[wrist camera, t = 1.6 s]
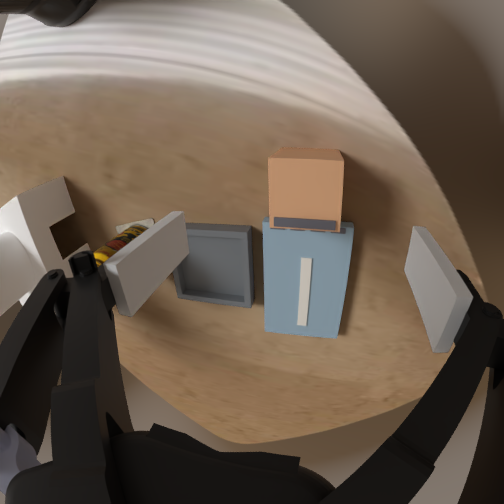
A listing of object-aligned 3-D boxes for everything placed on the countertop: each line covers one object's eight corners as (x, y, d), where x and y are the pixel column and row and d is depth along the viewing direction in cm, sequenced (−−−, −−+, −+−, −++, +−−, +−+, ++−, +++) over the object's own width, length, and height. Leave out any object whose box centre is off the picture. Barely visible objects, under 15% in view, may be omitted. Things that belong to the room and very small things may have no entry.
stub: (282, 147, 29) (267, 158, 22) (338, 149, 27) (344, 161, 20) (282, 200, 31) (269, 228, 24) (336, 204, 30) (339, 233, 23)
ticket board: (265, 216, 33) (262, 222, 31) (352, 222, 30) (354, 228, 29) (267, 323, 40) (264, 332, 38) (337, 330, 38) (336, 339, 36)
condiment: (153, 217, 37) (95, 259, 26) (173, 272, 40) (127, 324, 30) (116, 225, 39) (60, 264, 29) (136, 275, 42) (90, 321, 32)
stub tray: (172, 222, 36) (164, 228, 34) (251, 225, 34) (247, 232, 32) (183, 290, 41) (178, 298, 39) (254, 299, 38) (250, 308, 37)
